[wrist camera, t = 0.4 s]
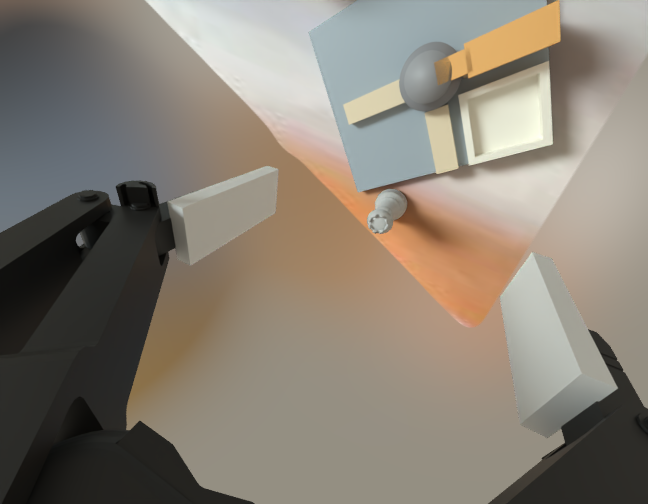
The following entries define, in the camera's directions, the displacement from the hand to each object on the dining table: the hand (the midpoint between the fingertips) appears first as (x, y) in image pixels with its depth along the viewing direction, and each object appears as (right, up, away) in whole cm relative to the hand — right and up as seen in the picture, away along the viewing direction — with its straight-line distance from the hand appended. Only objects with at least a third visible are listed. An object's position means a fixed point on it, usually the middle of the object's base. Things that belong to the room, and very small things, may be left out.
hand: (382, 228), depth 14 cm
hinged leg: (+11, +17, +12) cm, 24 cm away
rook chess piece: (+7, +6, +25) cm, 27 cm away
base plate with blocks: (+8, +18, +17) cm, 26 cm away
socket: (+16, +13, +15) cm, 25 cm away
